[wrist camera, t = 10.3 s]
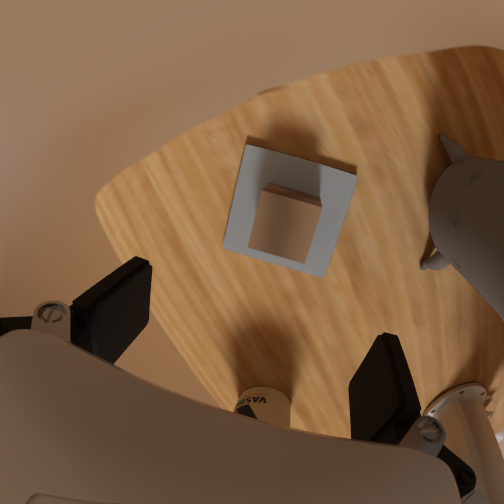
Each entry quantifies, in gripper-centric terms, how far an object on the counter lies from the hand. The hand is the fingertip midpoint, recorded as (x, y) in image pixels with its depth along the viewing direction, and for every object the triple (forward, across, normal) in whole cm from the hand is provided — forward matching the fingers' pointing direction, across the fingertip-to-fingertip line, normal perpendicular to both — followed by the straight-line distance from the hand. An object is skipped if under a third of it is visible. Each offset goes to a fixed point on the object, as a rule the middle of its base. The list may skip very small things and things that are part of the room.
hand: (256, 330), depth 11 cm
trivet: (+20, 0, 0) cm, 20 cm away
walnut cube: (+19, 0, 0) cm, 19 cm away
